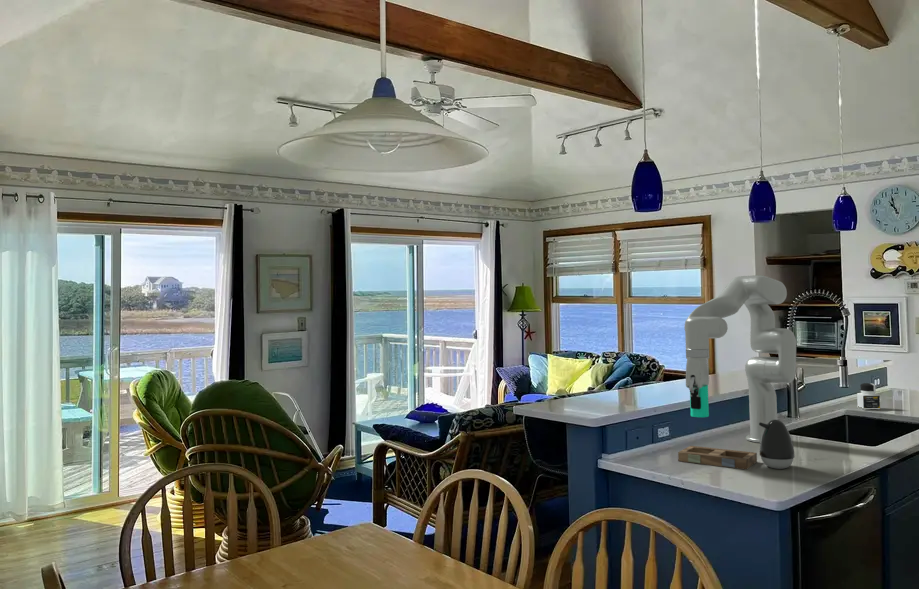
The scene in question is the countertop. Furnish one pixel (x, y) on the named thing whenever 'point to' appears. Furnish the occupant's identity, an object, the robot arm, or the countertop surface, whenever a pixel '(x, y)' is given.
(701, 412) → the candle
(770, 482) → the countertop surface
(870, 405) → the medicine bottle
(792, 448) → the pump dispenser
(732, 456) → the socket block
